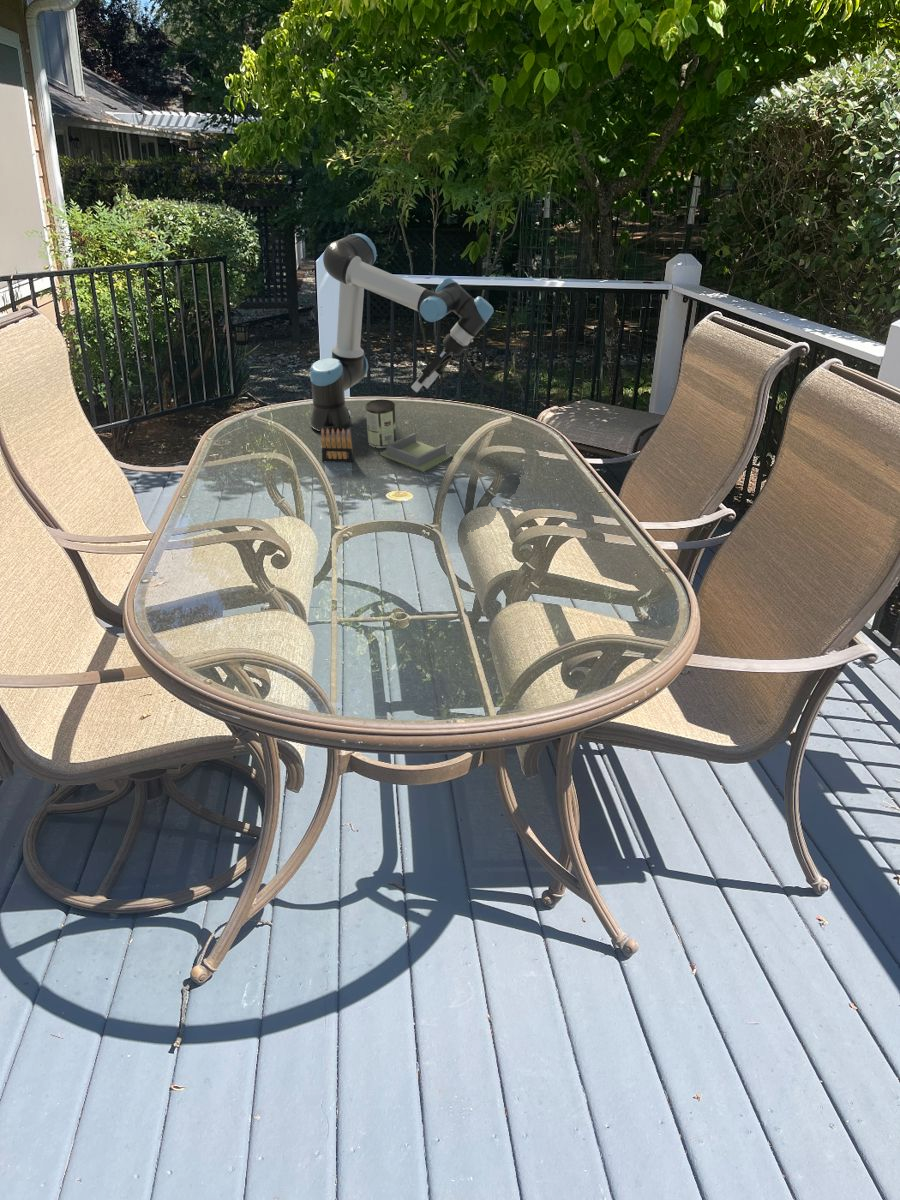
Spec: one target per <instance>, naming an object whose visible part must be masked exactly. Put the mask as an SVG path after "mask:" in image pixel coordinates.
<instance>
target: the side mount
mask: <svg viewBox="0 0 900 1200" xmlns="http://www.w3.org/2000/svg"><path fill="white" fill-rule="evenodd" d="M446 452H447V444H446V443H442V444H440V445H438V446H436V447H434V446H431V445H429V444H426V443H424V442H420V441H418V440H417V433H415V432H413V433H411V434H409V435H406V436H405V437H402V438H400V439H398V440H397V441H396V442H394V443H392V444H389V445H387V446H386V448H385V450H383V451H381V452H379V453H380V454H379V455H380V456H382V457H384V458H386V459H389V460H391V461H394V462H397V463H399V464H402V465H404V466H407V467H410V468H412V469H415V470H417V471H420V472H423V473H424V472H426V471H428V470H430V469H431V468H434V467H435V466H437V465H439V463H440V464H441V463H443V462H444V461H443V460H444V459H446V458H447V457H448V456H449V455H447V453H446ZM442 461H443V462H442Z"/></svg>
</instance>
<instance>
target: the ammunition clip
mask: <svg viewBox="0 0 900 1200" xmlns="http://www.w3.org/2000/svg"><path fill="white" fill-rule="evenodd" d="M350 430H351V429H350V428H348V429H346V430H344V429H342V431H341V432H340V431H339V429H337V432H336V433H335V432H334V429H333V428H332V433H330V432H329V429H328V428H327V431H326V433H324V429H323V428H322V430H321V432H320V435H321V436H320V437H321V439H320V440H321V441H320V442H321V460H322V462H323V461H326V462H325V463H354V461H355V458H354V456H355V455H354V450H353V440H352V435H351V431H350ZM345 431H347V432H345ZM346 433H347V434H346Z"/></svg>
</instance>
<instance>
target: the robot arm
mask: <svg viewBox="0 0 900 1200" xmlns="http://www.w3.org/2000/svg"><path fill="white" fill-rule="evenodd" d="M376 260H377V249H376V246H375V244H374V242H373V241H372V239H371V238H370V237H368V236H367V235H365V234H363V233H359V232H358V233H352V234H349V235H347V236H345V237H343V238H341V239H338V240H335V241H332V242H331V243H329V245H327V246H326V248H325V249H324V252H323V257H322V261H323V263H322V264H323V267H324V269H325V271H326V272H327V273H328V274H329V276H330V277H331V278H333V279H335V280H336V281H338V282H339V292H338V312H337V314H338V315H337V328H336V329H337V330H336V332H337V333H336V344H335V345H334V346H332V349H331V358H330V357H327V358H323V359H319V360H317V361H315V362H313V364H311V366H310V369H309V380H310V386H311V387H310V388H311V394H312V395H311V396H312V406H313V407H312V411H311V416H310V420H309V424H310V423H311V425H312V426H313V427H314V428H316V429H318V430H320V431H321V430H322V428H323V429H324V432H326V431H327V428H328V429H329V432H331V433H332V428H333V429H334V432H335V434H337V429H339V431H340V433H342V429H344V431H347V430H348V429H350V428H351V427H352V417H351V415H350V412H349V410H348V407H347V405H346V397H345V392H346V391H347V390H348V389H350V388H352V387H353V386H355V385H357V384H359V383H360V382H361V381H362V380H363V379H365V377H366V376H367V374H368V370H369V363H368V361H369V360H368V359H367V358H366V355H365V354H364V353H365V351H364V349H363V348H362V347H361V340H362V327H363V326H362V324H363V314H364V313H363V312H364V311H363V310H364V297H365V290H367V291H369V292H372V293H374V294H377V295H379V296H381V297H384V298H386V299H389V300H391V301H393V302H395V303H397V304H400V305H403V306H404V307H408V308H409V309H412V310H414V311H416V312H419V313H420V315H421V317H422V318H423V319H424V321H426V322H429V323H434V322H437V321H439V320H441V319H443V318H444V317H446V316H447V315H449V314H450V313H452V312H453V313H454V314H455V315H457V316H458V318H459V319H458V320H457V322H456V323H455V324H454V325H453V326H452V328H451V329H450V332H449V333H447V334H446V336H445V337H444V338H443V339H442V343H443V344H442V345H444V346H445V348H444V349H440V350H439V352H438V353H437V354H436V356H435V357H433V358H432V360H431V361H430V362H429V363H428V364H427V365H426V367H424V369H423V368H422V369H421V370H420V372H421V373H420V375H419V376H418V378H416V380H415V382H414V383H413V384H412V385H411V386H410V388H411V389H412V390H413V391H414V392H415V393H418V392H419V391H420V390H421V389H422V388H423V386H424V387H425V389H429V388H430V386H432V384H433V383H434V382H435V380H436V379H437V378H438V376H439V375H440V376H441V375H443V373H444V371H445V369H446V367H447V366H448V364H449V363H450V362H451V360H452V358H453V357H454V356H455V355H456V356H460V355H461V354H462V353H463V352H464V351H465V350H466V346H468V345H470V343H473V342H474V338H475V337H476V336H477V334H478V333H479V332H480V331H481V329H482V328H483V327H484V326H485V324H486V323H488V321H489V319H490V318H491V317H492V315H493V314H494V312H495V310H494V307H493V306H492V304H490V303H489V302H488V301H487V300H486V299H485V298H483V297H482V296H479V295H478V296H477V297H475V298H474V297H472V295H470V294H469V293H468V292H467V291H466V289H464V288H463V287H462V286H461V285H460V284H459V283H458V282H457V281H455V280H453V278H451V277H449V276H448V277H445V278H444V279H443V280H442V281H441V282H439V284H438V285H437V287H436V288H435V292H434V291H433V290H429V288H428V289H427V288H425V287H423V286H421V285H419V284H416V283H414V282H411V281H409V280H406V279H405V278H402V277H399V276H396V275H395V274H392V273H390V272H388V271H385V270H383V269H381V268H378V267H376V266H374V263H375V262H376ZM311 425H310V426H311ZM331 433H330V434H331Z"/></svg>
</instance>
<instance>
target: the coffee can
mask: <svg viewBox="0 0 900 1200" xmlns="http://www.w3.org/2000/svg"><path fill="white" fill-rule="evenodd" d="M364 407H365V414H366V425H367V426H366V429H367V444H368V443H369V444H368V445H369V446H370V445H371V446H370V447H373V448H375V447H376V448H377V449H386V446H387V445H389V444H392V443H394V442H396V441H398V440H397V430H396V429H397V426H396V425H397V424H396V408H395V407H396V404H395V402H394V401H393V400H390V399H381V398H380V399H372V400H369V401H368V402H366V404H365V406H364Z"/></svg>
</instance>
